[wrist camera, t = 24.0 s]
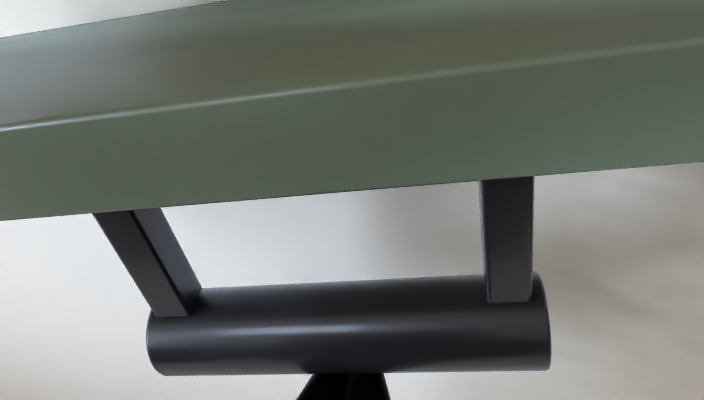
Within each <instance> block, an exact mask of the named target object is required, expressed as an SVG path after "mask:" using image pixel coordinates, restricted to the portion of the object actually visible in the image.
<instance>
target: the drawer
mask: <svg viewBox="0 0 704 400" xmlns="http://www.w3.org/2000/svg"><path fill="white" fill-rule="evenodd" d="M694 162H704V0H226V1H220V2H214V3H208V4H202V5H196V6H190V7H184V8H177V9H171V10H165V11H159V12H153V13H147V14H141V15H135V16H129V17H123V18H117V19H111V20H105V21H99V22H93V23H87V24H80V25H74V26H68V27H62V28H56V29H50V30H44V31H38V32H32V33H26V34H20V35H14V36H8V37H2V38H0V221H5V220H17V219H29V218H41V217H53V216H64V215H76V214H88V213H92V214H93V216H94V217H95V219H96V221H97V222H98V224H99V225H100V227H101V229H102V230H103V232H104V234H105V235H106V237H107V238H108V240H109V242H110V243H111V245H112V246H113V248H114V250H115V251H116V253H117V254H118V256H119V258H120V259H121V261H122V262H123V264H124V266H125V267H126V269H127V270H128V272H129V274H130V275H131V277H132V278H133V280H134V282H135V283H136V285H137V286H138V288H139V290H140V291H141V293H142V295H143V296H144V298H145V299H146V301H147V303H148V304H149V306H150V307H151V312H150V315H149V319H148V323H147V331H146V344H147V351H148V355H149V358H150V361H151V363H152V365H153V367H154V368H155V370H156V371H157V372H159V373H160V374H162V375H165V376H206V375H275V374H343V373H412V372H480V371H546V370H548V369H549V367H550V364H551V331H550V321H549V312H548V305H547V299H546V294H545V289H544V285H543V282H542V279H541V277H540V275H539V273H537V272H533V222H534V176H540V175H552V174H564V173H576V172H587V171H599V170H611V169H623V168H635V167H647V166H659V165H671V164H682V163H694ZM469 181H478V187H479V203H480V220H481V237H482V254H483V271H484V274H481V275H461V276H441V277H421V278H401V279H381V280H361V281H341V282H321V283H301V284H281V285H261V286H241V287H221V288H201V285H200V283H199V281H198V279H197V277H196V275H195V274H194V272H193V270H192V268H191V266H190V264H189V262H188V260H187V258H186V256H185V254H184V252H183V250H182V248H181V247H180V245H179V243H178V241H177V239H176V237H175V235H174V233H173V231H172V229H171V227H170V225H169V223H168V222H167V220H166V218H165V216H164V214H163V212H162V210H161V208H160V207H171V206H183V205H195V204H207V203H219V202H231V201H243V200H255V199H267V198H278V197H290V196H302V195H314V194H326V193H338V192H350V191H362V190H373V189H385V188H397V187H409V186H421V185H433V184H445V183H457V182H469Z"/></svg>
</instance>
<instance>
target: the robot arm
mask: <svg viewBox="0 0 704 400" xmlns="http://www.w3.org/2000/svg"><path fill="white" fill-rule="evenodd" d="M297 400H390V396H389V392H388V388H387V385H386V381H385V377H384V373H343V374H313V375H312V376H311V378H310V379H309V381H308V383H307V384H306V386H305V387H304V389H303V390H302V392H301V393H300V395H299V397H298V398H297Z"/></svg>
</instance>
